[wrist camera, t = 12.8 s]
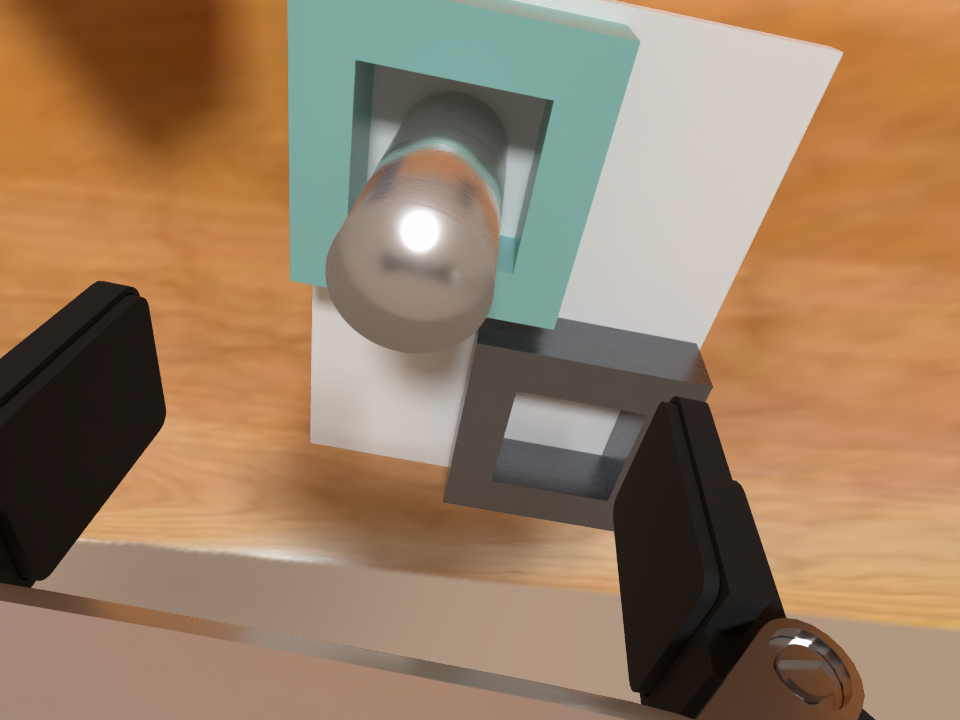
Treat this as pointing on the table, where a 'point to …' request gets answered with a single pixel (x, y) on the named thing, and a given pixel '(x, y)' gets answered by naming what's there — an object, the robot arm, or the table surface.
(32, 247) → the table surface
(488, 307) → the silver metal cylinder
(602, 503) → the holder block
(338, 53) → the dock block
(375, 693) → the robot arm
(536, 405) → the docking plate
